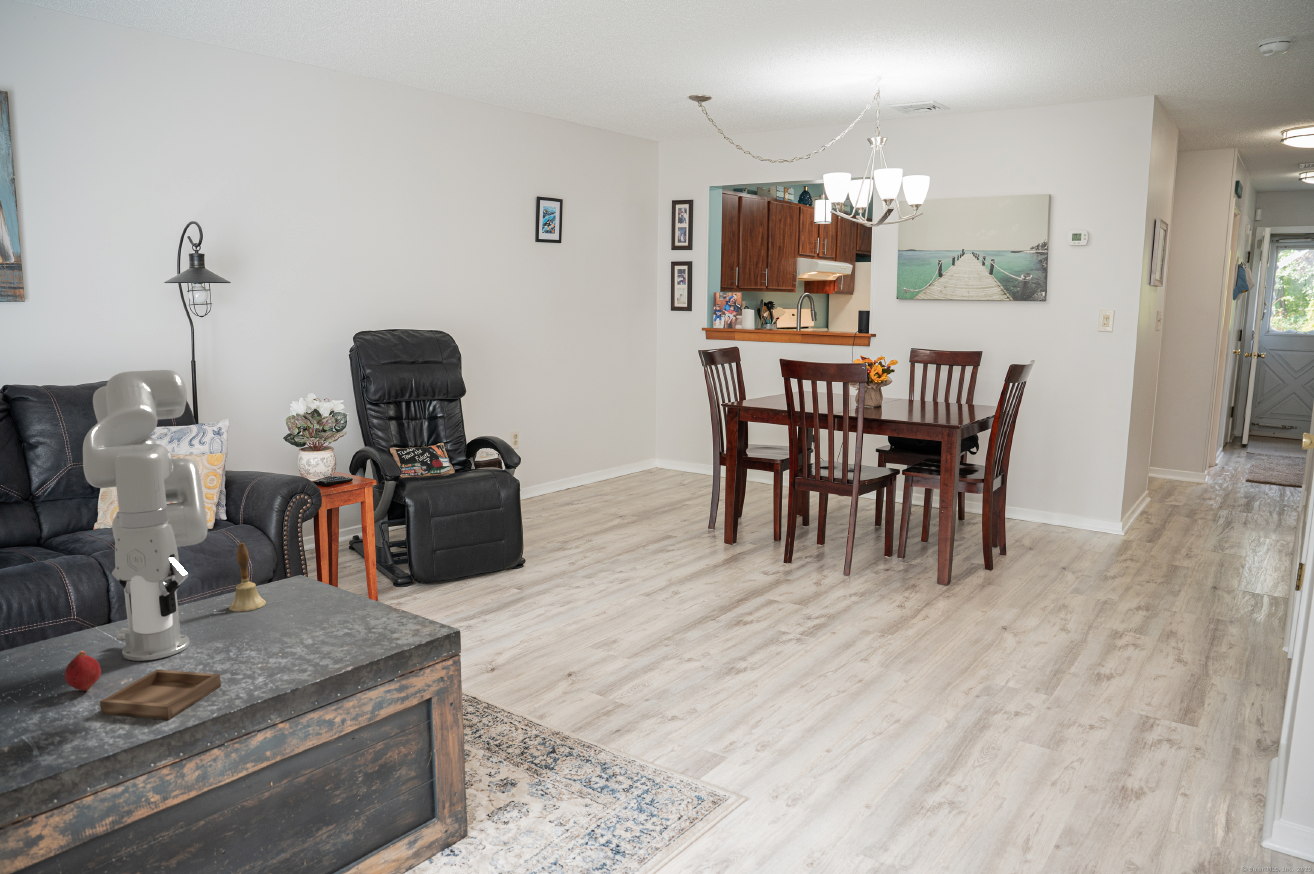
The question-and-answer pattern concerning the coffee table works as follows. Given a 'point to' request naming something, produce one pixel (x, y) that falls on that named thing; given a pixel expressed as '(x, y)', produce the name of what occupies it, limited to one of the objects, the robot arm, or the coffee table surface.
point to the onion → (82, 672)
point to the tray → (160, 694)
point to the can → (147, 607)
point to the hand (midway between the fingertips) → (153, 612)
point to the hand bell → (245, 586)
